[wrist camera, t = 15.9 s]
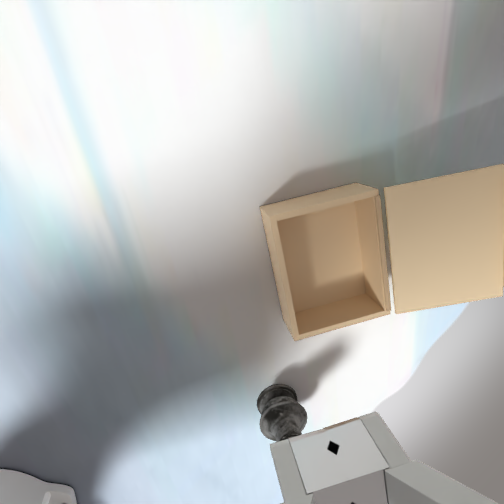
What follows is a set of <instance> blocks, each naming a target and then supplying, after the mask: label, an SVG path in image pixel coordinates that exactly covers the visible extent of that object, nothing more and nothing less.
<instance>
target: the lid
mask: <svg viewBox="0 0 504 504" xmlns="http://www.w3.org/2000/svg"><path fill="white" fill-rule="evenodd" d="M384 197H385V208H386V219H387V230H388V241H389V252H390V262H391V273H392V284H393V295H394V306H395V313H396V314H400V313H406V312H412V311H418V310H424V309H430V308H436V307H442V306H448V305H453V304H459V303H465V302H471V301H477V300H483V299H489V298H495V297H501V296H503V287H504V164H499V165H494V166H489V167H484V168H479V169H474V170H469V171H464V172H459V173H454V174H449V175H444V176H439V177H434V178H429V179H424V180H419V181H414V182H409V183H404V184H399V185H394V186H389V187H384Z"/></svg>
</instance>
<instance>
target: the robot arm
mask: <svg viewBox="0 0 504 504" xmlns="http://www.w3.org/2000/svg"><path fill="white" fill-rule="evenodd" d="M270 449H271V453H272V457H273V461H274V465H275V469H276V473H277V476H278V480H279V484H280V488H281V492H282V496H283V499H284V503H281V504H499V503H497V502H495V501H493V500H491V499H489V498H488V497H486V496H484V495H482V494H480V493H478V492H476V491H474V490H473V489H471V488H469V487H467V486H465V485H463V484H461V483H460V482H458V481H456V480H454V479H452V478H450V477H448V476H447V475H445V474H443V473H441V472H439V471H437V470H435V469H433V468H432V467H430V466H428V465H426V464H424V463H422V462H421V461H419V460H414V461H411V460H410V458H409V457H408V456H407V454H406V453H405V451H404V450H403V448H402V447H401V445H400V444H399V442H398V441H397V439H396V438H395V437H394V435H393V434H392V432H391V431H390V429H389V428H388V426H387V425H386V423H385V422H384V420H383V419H382V418H381V416H380V415H379V414H378V413H377V412H373V413H370V414H366V415H363V416H360V417H358V418H357V417H356V418H353V419H350V420H347V421H344V422H341V423H338V424H335V425H332V426H329V427H325V428H323V429H320V430H317V431H313V432H310V433H306V434H302V435H299V436H295V437H292V438H288V439H286V440H282V441H279V442H275V443H272V444H270ZM0 504H77V501H76V497H75V492H74V490H73V489H72V488H71V487H69V486H67V485H62V484H55V483H47V482H44V481H42V480H39V479H37V478H35V477H33V476H31V475H28V474H25V473H22V472H18V471H13V470H6V469H0Z"/></svg>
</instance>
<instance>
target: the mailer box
mask: <svg viewBox="0 0 504 504" xmlns="http://www.w3.org/2000/svg"><path fill="white" fill-rule="evenodd" d="M260 211H261V216H262V221H263V225H264V230H265V235H266V240H267V244H268V249H269V254H270V259H271V263H272V268H273V273H274V278H275V282H276V287H277V292H278V297H279V301H280V306H281V311H282V316H283V320H284V322H285V323H286V325H287V327H288V329H289V331H290V333H291V335H292V337H293V339H294V341H297V340H301V339H304V338H308V337H311V336H315V335H318V334H322V333H325V332H329V331H332V330H336V329H339V328H343V327H346V326H350V325H353V324H357V323H360V322H364V321H367V320H371V319H374V318H378V317H381V316H385V315H388V314H390V310H391V303H390V293H389V282H388V272H387V261H386V251H385V240H384V230H383V219H382V209H381V198H380V195H379V190H378V189H376V188H373V187H370V186H366V185H363V184H360V183H352V184H348V185H344V186H340V187H336V188H332V189H328V190H324V191H320V192H316V193H312V194H308V195H304V196H300V197H296V198H292V199H288V200H284V201H280V202H276V203H272V204H268V205H264V206H260Z"/></svg>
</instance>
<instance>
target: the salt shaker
mask: <svg viewBox="0 0 504 504" xmlns="http://www.w3.org/2000/svg"><path fill="white" fill-rule="evenodd" d="M257 407H258V410H259V412H260V413H261V419H260V429H261V432H262V433H263V435H264V436H265V437H267V438H268V439H271V440H273V441H276V442H279V441H282V440H286V439H288V438H292V437H295V436H299V435H302V434H301V431H302V430H303V429H304V427H305V425H306V423H307V413H306V411H305V409H304V407H302V406H301V405H300V404H299V403H298V402H297V396H296V393H295V391H294V390H293V389H292V388H291V387H289V386H287V385H283V384H276V385H272V386H270V387H268V388H266V389H265V390H264V391H262V393H261V394H260V395H259V397H258V400H257Z"/></svg>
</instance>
